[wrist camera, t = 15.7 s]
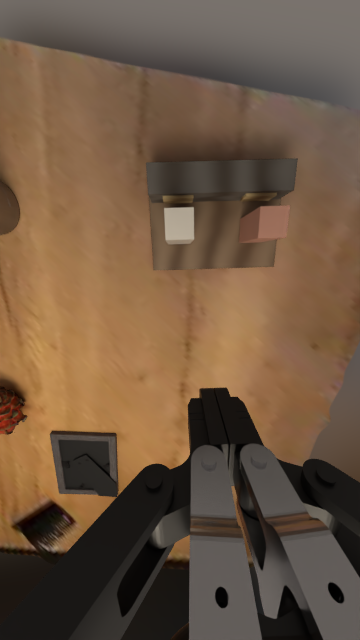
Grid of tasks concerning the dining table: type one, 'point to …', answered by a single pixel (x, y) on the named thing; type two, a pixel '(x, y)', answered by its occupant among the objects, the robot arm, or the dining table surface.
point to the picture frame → (85, 462)
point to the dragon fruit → (10, 411)
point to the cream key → (179, 225)
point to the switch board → (215, 209)
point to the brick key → (264, 224)
